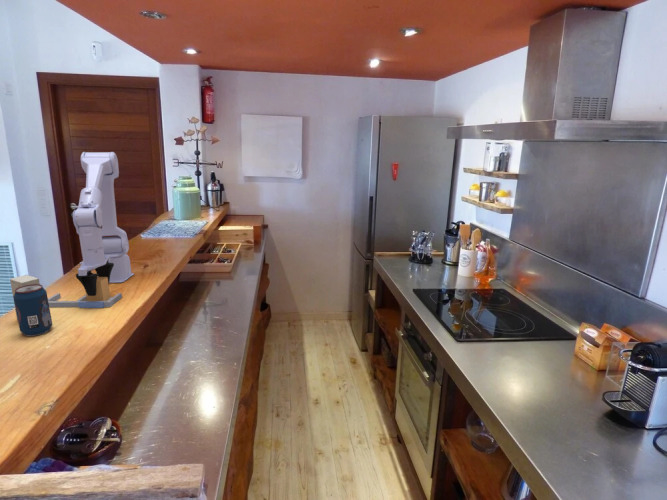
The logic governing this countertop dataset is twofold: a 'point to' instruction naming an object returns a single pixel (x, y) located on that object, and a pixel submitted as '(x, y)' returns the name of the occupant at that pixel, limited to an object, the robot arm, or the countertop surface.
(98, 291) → the tan cardboard-colored block
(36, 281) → the skincare box
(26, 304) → the soda can
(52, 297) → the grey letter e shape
